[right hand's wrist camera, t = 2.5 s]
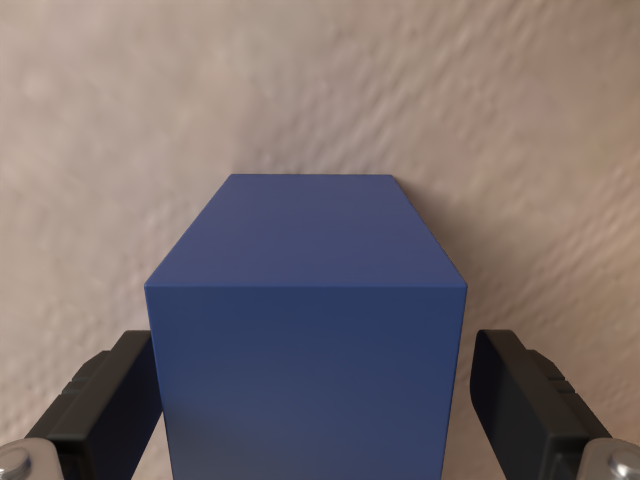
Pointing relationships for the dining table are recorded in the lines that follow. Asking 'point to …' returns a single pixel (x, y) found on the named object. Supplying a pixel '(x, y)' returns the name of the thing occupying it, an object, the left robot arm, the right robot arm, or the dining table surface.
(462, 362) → the dining table surface
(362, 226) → the bar
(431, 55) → the dining table surface
